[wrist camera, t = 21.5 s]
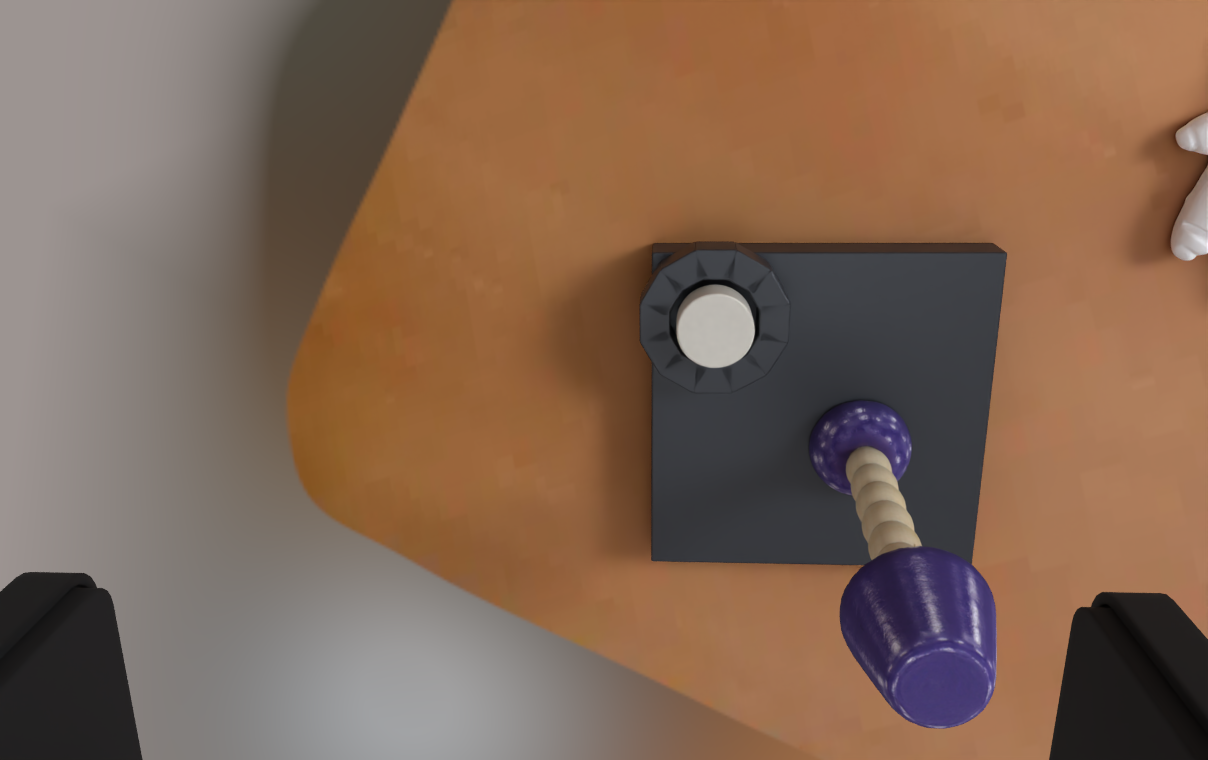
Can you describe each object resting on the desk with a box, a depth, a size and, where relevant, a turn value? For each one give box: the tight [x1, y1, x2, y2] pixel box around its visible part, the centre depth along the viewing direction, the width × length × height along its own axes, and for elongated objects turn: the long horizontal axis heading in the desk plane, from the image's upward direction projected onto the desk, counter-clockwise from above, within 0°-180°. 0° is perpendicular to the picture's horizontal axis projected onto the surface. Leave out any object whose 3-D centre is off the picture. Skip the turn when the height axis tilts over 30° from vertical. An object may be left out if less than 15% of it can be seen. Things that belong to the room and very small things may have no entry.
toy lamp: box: [809, 400, 997, 728], centre depth 37 cm, size 5×5×17 cm
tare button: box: [676, 285, 755, 368], centre depth 41 cm, size 3×3×2 cm
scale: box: [640, 242, 1007, 565], centre depth 44 cm, size 14×14×4 cm
